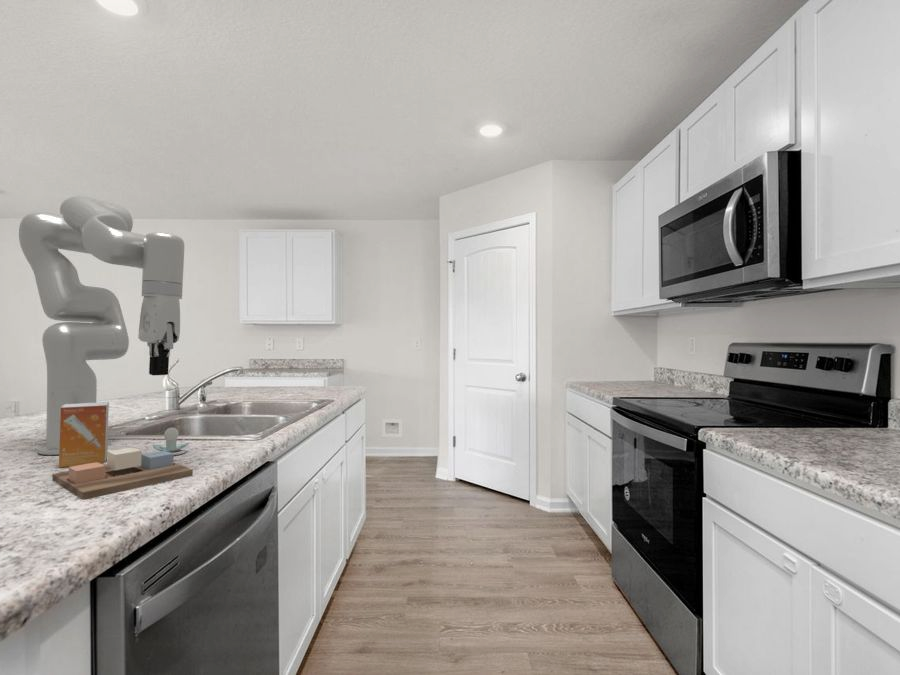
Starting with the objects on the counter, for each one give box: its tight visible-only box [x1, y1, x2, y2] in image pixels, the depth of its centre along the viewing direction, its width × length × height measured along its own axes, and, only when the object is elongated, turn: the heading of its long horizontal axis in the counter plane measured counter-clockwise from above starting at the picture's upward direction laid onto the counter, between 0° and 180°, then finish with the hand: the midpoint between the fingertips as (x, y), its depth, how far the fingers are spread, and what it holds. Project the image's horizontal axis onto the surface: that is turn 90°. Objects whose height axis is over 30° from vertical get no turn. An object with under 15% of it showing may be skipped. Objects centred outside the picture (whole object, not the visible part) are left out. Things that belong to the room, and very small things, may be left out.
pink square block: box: [68, 462, 106, 484], centre depth 86 cm, size 4×4×3 cm
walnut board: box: [51, 462, 194, 500], centre depth 91 cm, size 18×18×1 cm
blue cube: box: [141, 450, 175, 470], centre depth 96 cm, size 4×4×3 cm
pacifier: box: [152, 427, 189, 456], centre depth 110 cm, size 7×6×6 cm
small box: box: [58, 401, 110, 468], centre depth 102 cm, size 8×6×13 cm
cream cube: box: [106, 447, 142, 470], centre depth 91 cm, size 4×4×3 cm
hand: (158, 374), depth 100 cm, fingers closed
